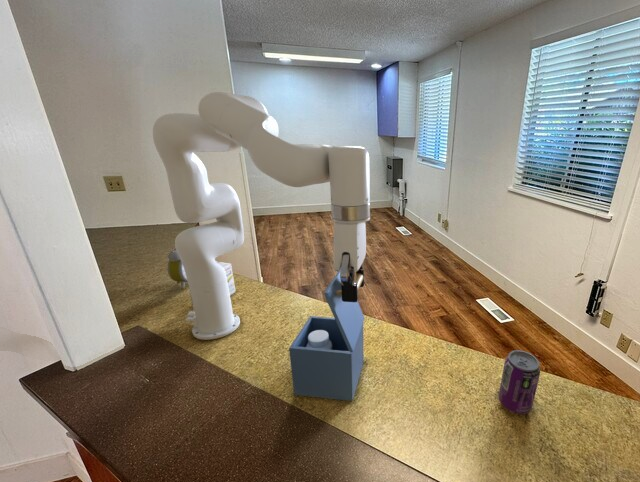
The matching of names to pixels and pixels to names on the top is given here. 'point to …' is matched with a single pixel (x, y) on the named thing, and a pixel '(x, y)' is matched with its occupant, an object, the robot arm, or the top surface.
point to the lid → (345, 311)
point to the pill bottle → (319, 340)
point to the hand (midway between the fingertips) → (353, 292)
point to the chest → (325, 363)
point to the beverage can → (519, 381)
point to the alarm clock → (176, 268)
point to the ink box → (229, 276)
